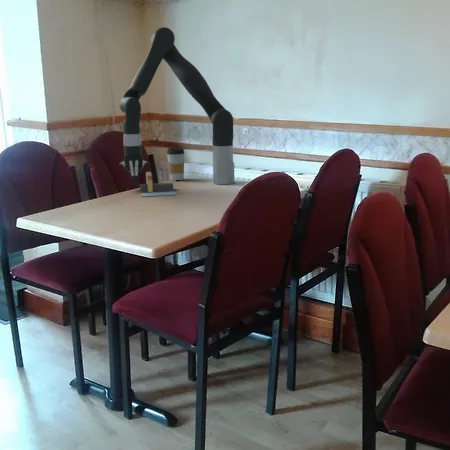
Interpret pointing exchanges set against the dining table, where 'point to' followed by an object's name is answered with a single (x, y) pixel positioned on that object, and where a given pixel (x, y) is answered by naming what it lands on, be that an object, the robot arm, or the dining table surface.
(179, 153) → the coffee cup
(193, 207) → the dining table surface
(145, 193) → the light blue panel
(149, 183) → the yellow bent bar
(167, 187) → the dark gray rectangular block
